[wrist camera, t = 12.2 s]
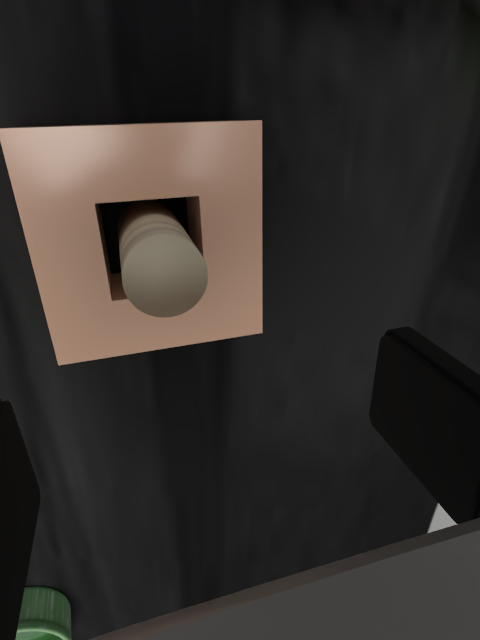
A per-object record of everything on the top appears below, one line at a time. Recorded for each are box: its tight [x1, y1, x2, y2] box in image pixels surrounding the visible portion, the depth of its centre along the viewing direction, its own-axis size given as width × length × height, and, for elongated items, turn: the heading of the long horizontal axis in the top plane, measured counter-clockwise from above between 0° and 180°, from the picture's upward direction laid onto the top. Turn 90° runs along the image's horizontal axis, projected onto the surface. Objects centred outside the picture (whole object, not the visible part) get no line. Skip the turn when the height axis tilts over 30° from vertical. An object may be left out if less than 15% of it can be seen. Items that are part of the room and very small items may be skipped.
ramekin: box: [15, 586, 72, 640], centre depth 38 cm, size 9×9×4 cm
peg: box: [118, 199, 208, 318], centre depth 24 cm, size 4×4×10 cm
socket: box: [0, 120, 262, 365], centre depth 26 cm, size 13×13×5 cm
